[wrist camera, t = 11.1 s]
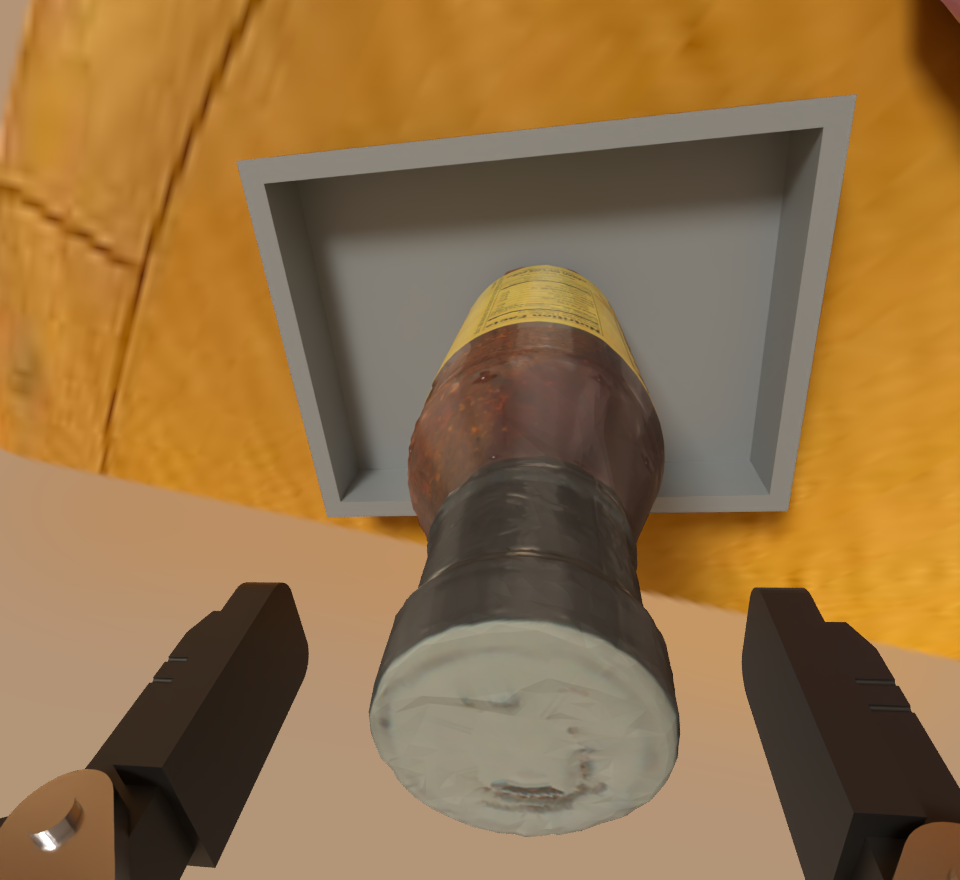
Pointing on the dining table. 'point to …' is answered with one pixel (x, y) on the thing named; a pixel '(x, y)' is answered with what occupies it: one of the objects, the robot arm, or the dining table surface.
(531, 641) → the sauce bottle
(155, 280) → the dining table surface
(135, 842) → the robot arm
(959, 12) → the donut
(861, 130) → the dining table surface
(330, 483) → the tray
